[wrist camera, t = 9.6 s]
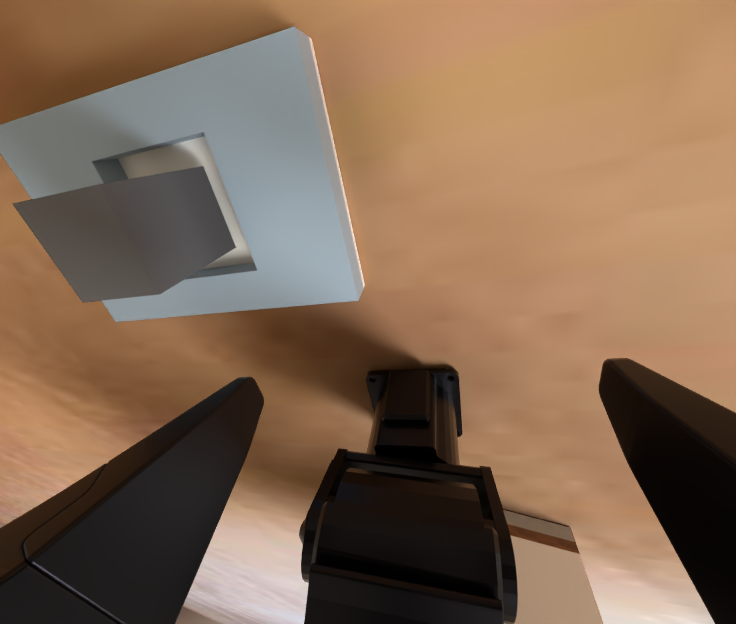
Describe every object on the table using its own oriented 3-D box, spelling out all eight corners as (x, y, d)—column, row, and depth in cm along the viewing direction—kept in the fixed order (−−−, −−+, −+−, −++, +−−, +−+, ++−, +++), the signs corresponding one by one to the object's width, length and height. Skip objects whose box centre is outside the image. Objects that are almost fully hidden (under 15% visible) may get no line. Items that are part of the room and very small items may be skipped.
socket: (364, 285, 19) (358, 300, 18) (138, 308, 24) (115, 321, 22) (311, 38, 14) (294, 26, 12) (26, 129, 18) (-16, 130, 16)
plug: (243, 243, 19) (160, 294, 13) (183, 251, 20) (82, 302, 14) (212, 164, 17) (97, 184, 11) (147, 178, 18) (12, 203, 12)
